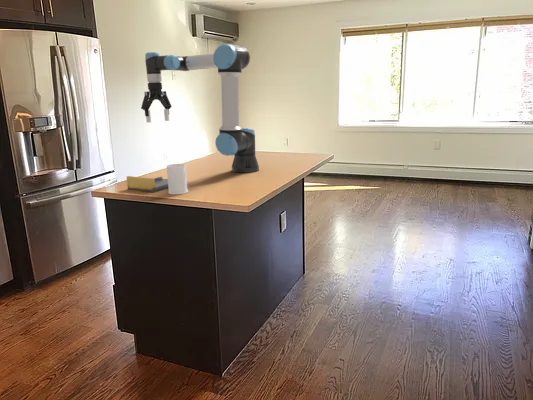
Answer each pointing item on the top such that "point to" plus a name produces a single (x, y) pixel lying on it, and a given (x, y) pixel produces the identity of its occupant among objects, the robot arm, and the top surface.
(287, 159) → the top surface
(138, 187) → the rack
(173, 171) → the mug
